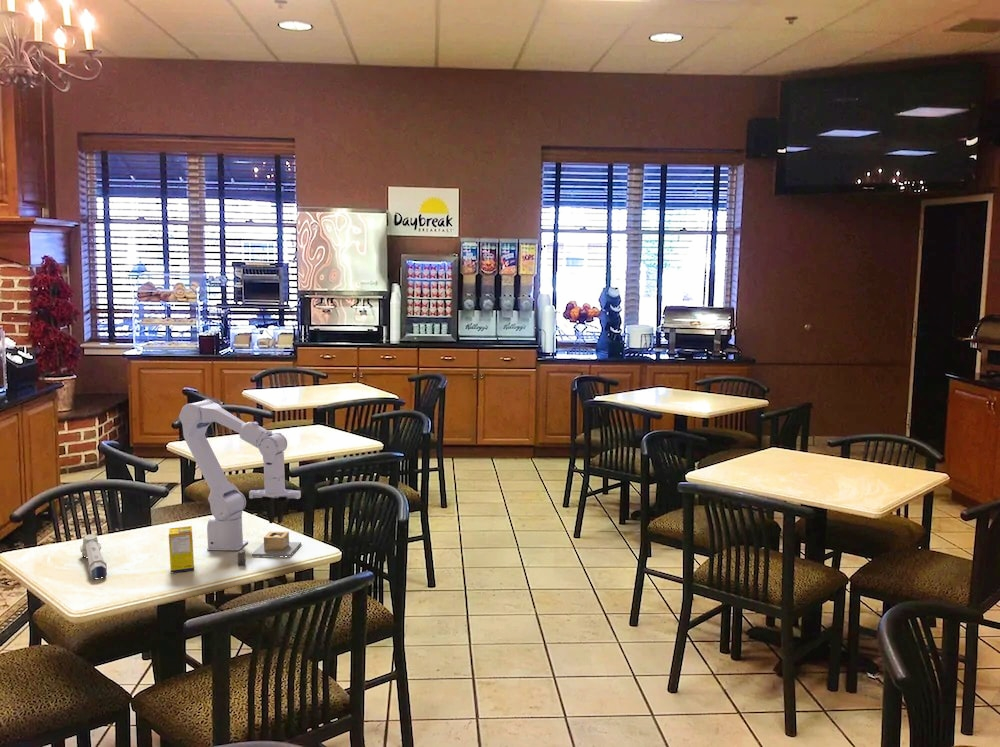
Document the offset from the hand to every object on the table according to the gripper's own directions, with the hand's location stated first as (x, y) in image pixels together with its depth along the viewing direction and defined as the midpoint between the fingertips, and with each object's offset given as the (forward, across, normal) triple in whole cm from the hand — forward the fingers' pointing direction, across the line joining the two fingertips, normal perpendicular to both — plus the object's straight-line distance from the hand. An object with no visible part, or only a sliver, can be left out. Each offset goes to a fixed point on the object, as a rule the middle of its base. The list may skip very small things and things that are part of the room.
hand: (276, 522), depth 241 cm
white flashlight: (+9, -46, -15) cm, 49 cm away
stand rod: (+8, -6, -12) cm, 16 cm away
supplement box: (+9, -21, -16) cm, 28 cm away
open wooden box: (+8, 0, 0) cm, 8 cm away
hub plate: (+8, 0, 0) cm, 8 cm away
